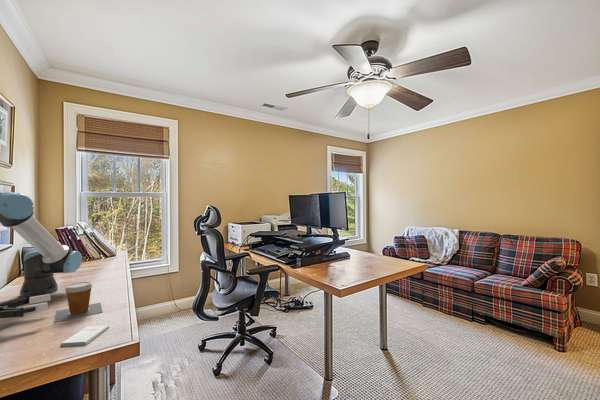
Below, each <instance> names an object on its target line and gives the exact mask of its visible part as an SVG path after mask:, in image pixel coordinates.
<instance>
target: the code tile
mask: <svg viewBox="0 0 600 400" xmlns="http://www.w3.org/2000/svg"><path fill="white" fill-rule="evenodd" d="M102 313H103V308H102V303H101V302H97V303H91V304H90V303H89V308H88V311H86V312H84V313H81V314H76V315H71V314H70V311H69V308H65V309H60V310H56V312H55V315H54V320H53V324H56V323H60V322H64V321H68V320H69V321H70V320H74V319H78V317H79V318H82V317H83V316H84V317H87V316H92V315H97V314H102Z"/></svg>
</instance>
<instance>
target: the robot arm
mask: <svg viewBox="0 0 600 400" xmlns="http://www.w3.org/2000/svg"><path fill="white" fill-rule="evenodd" d="M34 214H35V206H34V202H33V200H32V199H31V198H30V197H29V196H27V195H26V194H24V193H20V192H13V191H12V192H11V191H10V192H9V191H8V192H0V225H2V226H3V227H4V228H11V229H13V230H14V231H15V232H16V233H17V234H18V235H19V236H20V237H22V238H23V240H25V241H26V242H27V243H28V244H29V245H30V247H33V249H35V250H34V251H29V252H26V253H25V254H24V255H23V279H24V280H23V282H22V285H21V288H20V290H19V298H15V299H11V300H7V301H3V302H0V319H9V318H10V319H11V318H19V317H20V318H22V317H24V315H26V314H32V313H38V312H42V311H47V310H48V302H49V301H50V302H51V293H54V292H56V291H58V290H59V285H58V283H57V281H56V279H55V276H54V275H55V274H71V273H75V272H76V271H78V270H79V268H81V265H82V263H83V255H82V253H81V252H80V251H77V250H72V249H71V248H70V247H69V246H67V245H65V244H61V243H60V242H59V241H58V240H57V239H56V238H55V237H54V236H53V235H52V234H51V232H49V231H48V230H47V229H46V228H45V227H44V226H43V224H41V223H40V221H39V220H38V219H37V218H36V217H35V216H34ZM24 305H25V306H24ZM21 306H24V307H21Z"/></svg>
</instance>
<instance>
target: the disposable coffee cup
mask: <svg viewBox="0 0 600 400" xmlns="http://www.w3.org/2000/svg"><path fill="white" fill-rule="evenodd" d="M92 287H93V284H92V282H91V281H81V282H75V283H70V284H68V285H66V287H65V289H64V291H65V292H66V298H67V303H68V309H69V311H70V314H71V315H76V314H81V313H84V312H86V311H88V308H89V305H90V301H91V293H92Z"/></svg>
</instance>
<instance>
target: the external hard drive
mask: <svg viewBox="0 0 600 400" xmlns="http://www.w3.org/2000/svg"><path fill="white" fill-rule="evenodd" d="M109 328H110V327H109V325H89V326H88V325H87V326H85V327H84V328H82V329H80V330H79V331H78V332H76V333H75V334H73V335H71V336H70V337H69V338H67V339H66V340H65V339H64V341H62V342H61V343H60V346H59V347H73V346H76V347H77V346H78V347H79V346H87V345H89V343H91V342H93V341H94V340H95V339H96V338H98V337H99V336H100V335H102V334H103V333H105V331H108V329H109Z"/></svg>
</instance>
